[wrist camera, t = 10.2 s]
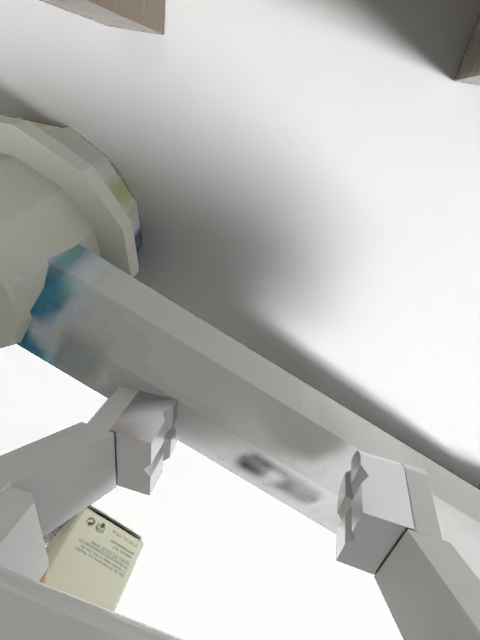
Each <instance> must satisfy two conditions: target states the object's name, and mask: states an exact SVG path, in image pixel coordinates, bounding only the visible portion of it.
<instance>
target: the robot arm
mask: <svg viewBox="0 0 480 640" xmlns="http://www.w3.org/2000/svg"><path fill="white" fill-rule="evenodd" d="M177 412H178V399H174V398H170V397H165V396H161V395H157V394H152V393H148V392H144V391H138V390H134V389H130V388H126V387H122V386H119V387H118V388H117V389H116V390H115V392H114V393H113V394H112V395H111V396H110V397H109V399H108V400H107V401H106V402H105V403H104V404H103V406H102V407H101V408H100V409H99V410H98V411H97V413H96V414H95V415H94V416H93V417H92V418H91V420H90V421H89V422H88V423H87V424H86V423H82V422H80V423H78V424H76V425H73V426H71V427H69V428H66V429H64V430H61V431H59V432H57V433H54V434H52V435H49V436H47V437H45V438H42V439H40V440H37V441H35V442H33V443H30V444H28V445H25V446H23V447H21V448H18V449H16V450H13V451H11V452H9V453H6V454H4V455H1V456H0V640H182V639H180V638H177V637H175V636H172V635H170V634H167V633H165V632H162V631H160V630H157V629H155V628H153V627H150V626H148V625H145V624H143V623H140V622H138V621H135V620H133V619H130V618H128V617H125V616H123V615H120V614H118V613H115V612H113V611H110V610H108V609H105V608H103V607H100V606H98V605H95V604H93V603H90V602H88V601H85V600H83V599H80V598H78V597H75V596H73V595H70V594H68V593H65V592H63V591H60V590H58V589H55V588H53V587H51V586H48V585H46V584H43V583H41V582H39V581H40V579H41V578H42V576H43V575H44V573H45V572H46V570H47V568H48V567H49V561H48V555H47V551H46V547H45V543H44V539H43V537H44V536H45V535H47V534H48V533H50V532H51V531H53V530H54V529H56V528H57V527H59V526H60V525H62V524H63V523H65V522H66V521H67V520H69V519H70V518H72V517H73V516H75V515H76V514H78V513H79V512H81V511H82V510H84V509H85V508H86V507H88V506H89V505H91V504H92V503H94V502H95V501H97V500H98V499H100V498H101V497H103V496H104V495H105V494H107V493H108V492H110V491H111V490H113V489H114V488H116V485H118V486H122V487H125V488H128V489H131V490H134V491H137V492H141V493H144V494H147V495H150V494H151V492H152V490H153V488H154V486H155V484H156V482H157V480H158V479H159V477H160V475H161V473H162V465H163V461H164V460H166V459H167V458H169V457H170V456H171V454H172V452H173V450H174V448H175V445H176V442H177V439H176V429H175V428H174V427H173V425H174V423H175V421H176V419H177ZM337 513H338V515H339V516H340V518H341V520H342V521H341V523H340V525H339V527H338V529H337V544H336V560H337V561H340V562H342V563H345V564H347V565H350V566H353V567H355V568H358V569H361V570H363V571H366V572H369V573H371V574H374V575H375V579H376V581H377V584H378V586H379V588H380V590H381V592H382V594H383V596H384V598H385V601H386V603H387V605H388V607H389V609H390V611H391V613H392V616H393V618H394V620H395V622H396V624H397V626H398V628H399V630H400V633H401V635H402V637H403V639H404V640H480V580H479V579H478V578H477V576H476V575H475V574H474V572H473V571H472V570H471V569H470V567H469V566H468V565H467V563H466V562H465V561H464V560H463V558H462V557H461V556H460V554H459V553H458V552H457V550H456V549H455V548H454V547H453V545H452V544H451V543H450V542H447V541H444V540H443V538H442V533H441V529H440V525H439V521H438V516H437V512H436V508H435V504H434V499H433V495H432V491H431V487H430V483H429V478H428V474H427V473H426V471H425V470H424V469H420V468H417V467H414V466H410V465H407V464H403V463H399V462H397V461H393V460H390V459H386V458H383V457H379V456H376V455H373V454H369V453H366V452H362V451H359V450H357V451H356V452H355V453H354V455H353V458H352V460H351V470H350V471H348V472H345V475H344V477H343V479H342V482H341V485H340V489H339V494H338V503H337Z"/></svg>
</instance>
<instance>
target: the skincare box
mask: <svg viewBox="0 0 480 640" xmlns="http://www.w3.org/2000/svg"><path fill="white" fill-rule="evenodd" d="M142 547H143V542H142V541H140V540H138V539H137V538H135V537H133V536H132V535H130V534H129V533H127V532H126V531H124V530H122V529H121V528H119V527H117V526H116V525H114V524H113V523H111V522H110V521H108V520H106V519H105V518H103V517H101V516H100V515H98V514H96V513H95V512H93V511H92V510H90V509H89V508H85V509H84V510H82V511H81V512H79V513H78V514H76V515H75V516H73V517H72V518H71V519H70V520H69V521H68V522H67V523H66V524H65V525H64V526H63V527H62V528H61V529H60V530H59V531H58V532H57V534H56V535H55V536H54V537H53V538H52V540H51V541H50V543H49V544H48V546H47V547H46V551H47V555H48V561H49V567H48V568H47V570H46V572H45V573H44V575H43V576H42V578H41V579H40V581H39V582H41V583H43V584H46V585H48V586H51V587H53V588H55V589H58V590H60V591H63V592H65V593H68V594H70V595H73V596H75V597H78V598H80V599H83V600H85V601H88V602H90V603H93V604H95V605H98V606H100V607H103V608H105V609H108V610H110V611H113V612H114V611H115V609H116V606H117V604H118V602H119V599H120V597H121V595H122V593H123V590H124V588H125V586H126V584H127V581H128V579H129V577H130V574H131V572H132V570H133V567H134V565H135V563H136V561H137V558H138V556H139V554H140V551H141V549H142Z"/></svg>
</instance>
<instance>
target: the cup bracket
mask: <svg viewBox="0 0 480 640" xmlns="http://www.w3.org/2000/svg"><path fill="white" fill-rule="evenodd" d="M40 1H43V2H45V3H48V4H51V5H53V6H56V7H59V8H61V9H64V10H67V11H69V12H72V13H75V14H77V15H80V16H83V17H85V18H88V19H91V20H93V21H96V22H99V23H101V24H104V25H107V26H111V27H117V28H124V29H130V30H136V31H142V32H149V33H155V34H161V35H164V20H165V0H40ZM455 81H457V82H464V83H470V84H476V85H480V16H479V19H478V21H477V24H476V26H475V29H474V32H473V34H472V37H471V40H470V42H469V45H468V47H467V50H466V53H465V55H464V58H463V60H462V63H461V66H460V68H459V71H458V73H457V76H456V79H455Z"/></svg>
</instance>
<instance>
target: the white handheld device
mask: <svg viewBox="0 0 480 640" xmlns="http://www.w3.org/2000/svg"><path fill="white" fill-rule="evenodd" d="M110 162H111V159H110V158H108V157H107V156H106V155H105V154H103V153H102V152H101V151H100V150H98V149H97V148H96V147H95V146H93V145H92V144H91V143H90V142H88V141H87V140H86V139H85V138H83V137H82V136H81V135H80V134H78V133H77V132H76V131H74V130H73V129H72V128H70V127H65V128H61V127H56V126H51V125H47V124H42V123H37V122H33V121H28V120H23V119H22V117H15V118H13V117H8V116H3V115H0V348H2V347H6V346H10V345H13V344H18V345H19V346H21V347H23V348H25V349H26V350H28V351H30V352H31V353H33V354H35V355H36V356H38V357H40V358H41V359H43V360H45V361H46V362H48V363H50V364H51V365H53V366H55V367H56V368H58V369H60V370H61V371H63V372H65V373H67V374H68V375H70V376H72V377H73V378H75V379H77V380H78V381H80V382H82V383H83V384H85V385H87V386H88V387H90V388H92V389H93V390H95V391H97V392H98V393H100V394H102V395H103V396H105V397H107V398H109V397H110V396H111V395H112V394H113V393H114V392H115V390H116V389H117V388H118V387H119V386H122V387H126V388H130V389H134V390H138V391H144V392H148V393H152V394H157V395H161V396H165V397H170V398H174V399H178V412H177V419H176V421H175V423H174V425H173V427H174V428H175V429H176V439H177V440H179V441H181V442H182V443H184V444H186V445H188V446H189V447H191V448H193V449H194V450H196V451H198V452H199V453H201V454H203V455H204V456H206V457H208V458H209V459H211V460H213V461H214V462H216V463H218V464H219V465H221V466H223V467H224V468H226V469H228V470H230V471H231V472H233V473H235V474H236V475H238V476H240V477H241V478H243V479H245V480H246V481H248V482H250V483H251V484H253V485H255V486H256V487H258V488H260V489H261V490H263V491H265V492H266V493H268V494H270V495H272V496H273V497H275V498H277V499H278V500H280V501H282V502H283V503H285V504H287V505H288V506H290V507H292V508H293V509H295V510H297V511H298V512H300V513H302V514H303V515H305V516H307V517H308V518H310V519H312V520H314V521H315V522H317V523H319V524H320V525H322V526H324V527H325V528H327V529H329V530H330V531H332V532H334V533H335V534H337V529H338V527H339V525H340V523H341V521H342V520H341V518H340V516H339V515H338V513H337V503H338V494H339V489H340V485H341V482H342V479H343V477H344V475H345V472H348V471H350V470H351V460H352V458H353V455H354V453H355V452H356V451H357V450H359V451H362V452H366V453H369V454H373V455H376V456H379V457H383V458H386V459H390V460H393V461H397V462H399V463H403V464H407V465H410V466H414V467H417V468H420V469H424V470H425V471H426V473H427V474H428V478H429V483H430V487H431V491H432V495H433V499H434V504H435V508H436V512H437V516H438V521H439V525H440V529H441V533H442V538H443V540H444V541H447V542H450V543H451V544H452V545H453V547H454V548H455V549H456V550H457V552H458V553H459V554H460V556H461V557H462V558H463V560H464V561H465V562H466V563H467V565H468V566H469V567H470V569H471V570H472V571H473V572H474V574H475V575H476V576H477V578H478V579H479V580H480V489H477V488H476V487H474V486H472V485H471V484H469V483H468V482H466V481H464V480H463V479H461V478H459V477H458V476H456V475H455V474H453V473H451V472H450V471H448V470H446V469H445V468H443V467H442V466H440V465H438V464H437V463H435V462H433V461H432V460H430V459H428V458H427V457H425V456H424V455H422V454H420V453H419V452H417V451H415V450H414V449H412V448H411V447H409V446H407V445H406V444H404V443H402V442H401V441H399V440H398V439H396V438H394V437H393V436H391V435H389V434H388V433H386V432H384V431H383V430H381V429H380V428H378V427H376V426H375V425H373V424H371V423H370V422H368V421H367V420H365V419H363V418H362V417H360V416H358V415H357V414H355V413H354V412H352V411H350V410H349V409H347V408H345V407H344V406H342V405H340V404H339V403H337V402H336V401H334V400H332V399H331V398H329V397H327V396H326V395H324V394H323V393H321V392H319V391H318V390H316V389H314V388H313V387H311V386H310V385H308V384H306V383H305V382H303V381H301V380H300V379H298V378H296V377H295V376H293V375H292V374H290V373H288V372H287V371H285V370H283V369H282V368H280V367H279V366H277V365H275V364H274V363H272V362H270V361H269V360H267V359H266V358H264V357H262V356H261V355H259V354H257V353H256V352H254V351H252V350H251V349H249V348H248V347H246V346H244V345H243V344H241V343H239V342H238V341H236V340H235V339H233V338H231V337H230V336H228V335H226V334H225V333H223V332H222V331H220V330H218V329H217V328H215V327H213V326H212V325H210V324H209V323H207V322H205V321H204V320H202V319H200V318H199V317H197V316H195V315H194V314H192V313H191V312H189V311H187V310H186V309H184V308H182V307H181V306H179V305H178V304H176V303H174V302H173V301H171V300H169V299H168V298H166V297H165V296H163V295H161V294H160V293H158V292H156V291H155V290H153V289H151V288H150V287H148V286H147V285H145V284H143V283H142V282H140V281H138V280H137V279H135V278H134V277H135V276H136V274H137V273H138V271H139V265H138V258H137V251H138V250H139V248H140V246H141V245H142V237H141V228H140V219H139V211H138V203H137V202H136V200H135V198H134V197H133V195H132V194H131V193H130V191H129V190H128V188H127V187H126V185H125V184H124V182H123V181H122V179H121V178H120V176H119V175H118V173H117V172H116V170H115V169H114V167H113V166H112V164H111V163H110Z"/></svg>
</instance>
